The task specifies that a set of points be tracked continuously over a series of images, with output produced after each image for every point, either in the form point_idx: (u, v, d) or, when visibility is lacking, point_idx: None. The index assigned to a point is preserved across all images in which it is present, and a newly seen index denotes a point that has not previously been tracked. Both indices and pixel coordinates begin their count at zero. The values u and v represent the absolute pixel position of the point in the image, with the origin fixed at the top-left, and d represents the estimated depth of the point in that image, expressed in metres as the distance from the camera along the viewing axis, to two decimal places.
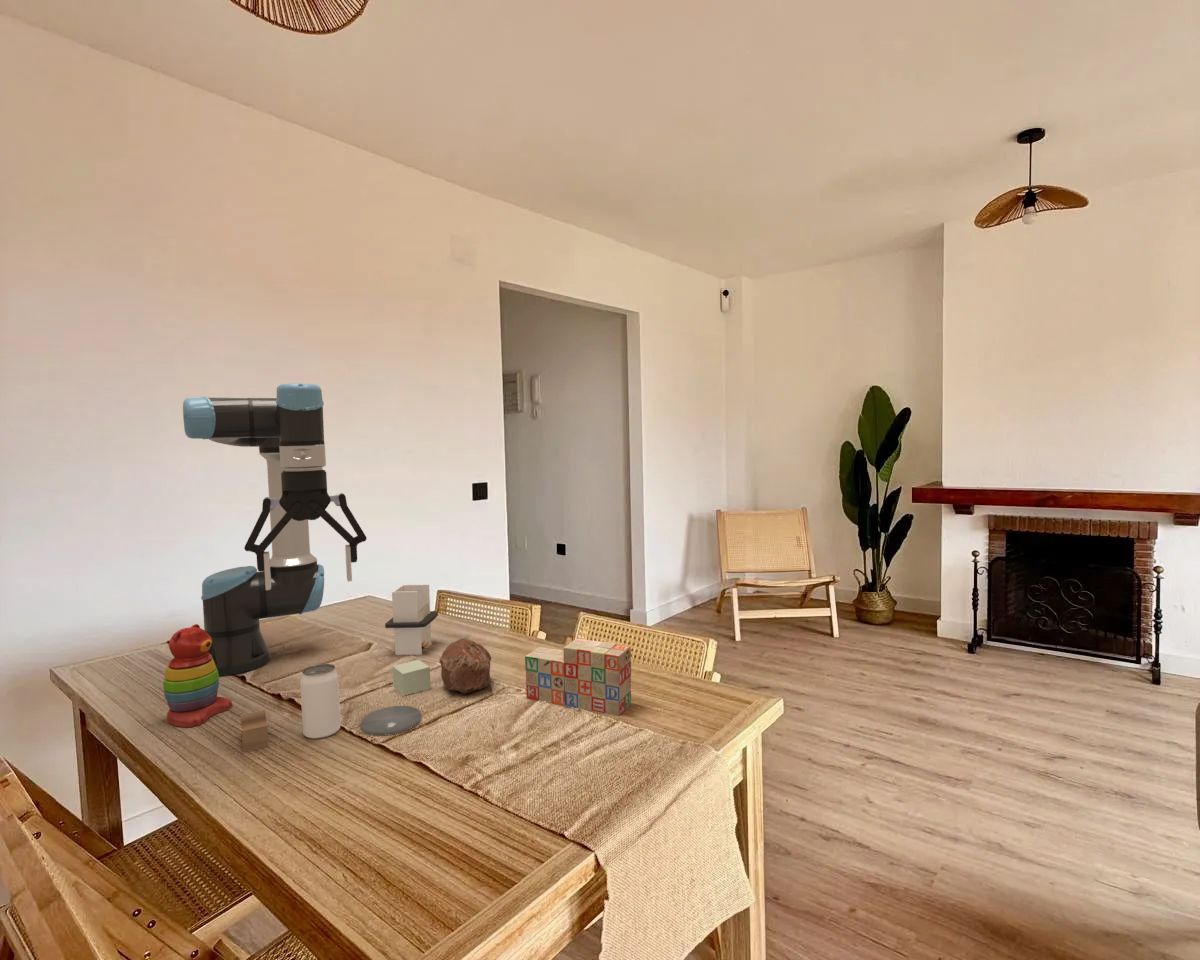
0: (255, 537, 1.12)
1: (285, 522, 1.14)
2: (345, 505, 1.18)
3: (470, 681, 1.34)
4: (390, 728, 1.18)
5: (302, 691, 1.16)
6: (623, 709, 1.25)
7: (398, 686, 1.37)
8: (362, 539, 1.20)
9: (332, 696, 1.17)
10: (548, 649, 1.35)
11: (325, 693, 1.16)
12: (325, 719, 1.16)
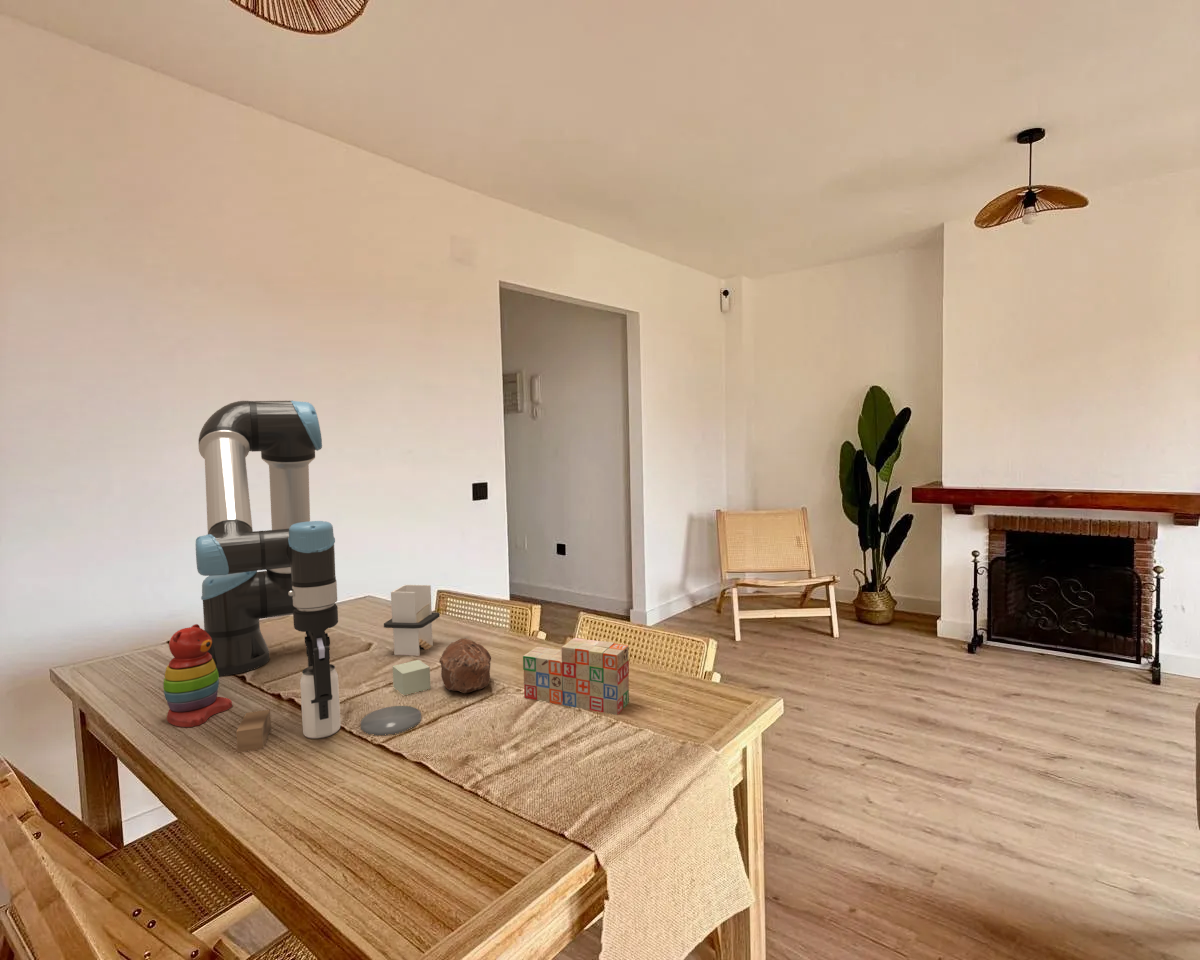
0: (308, 666, 1.23)
1: None
2: (314, 660, 1.12)
3: (470, 681, 1.34)
4: (390, 728, 1.18)
5: (302, 691, 1.16)
6: (621, 708, 1.26)
7: (398, 686, 1.37)
8: None
9: (332, 696, 1.17)
10: (546, 649, 1.36)
11: None
12: None
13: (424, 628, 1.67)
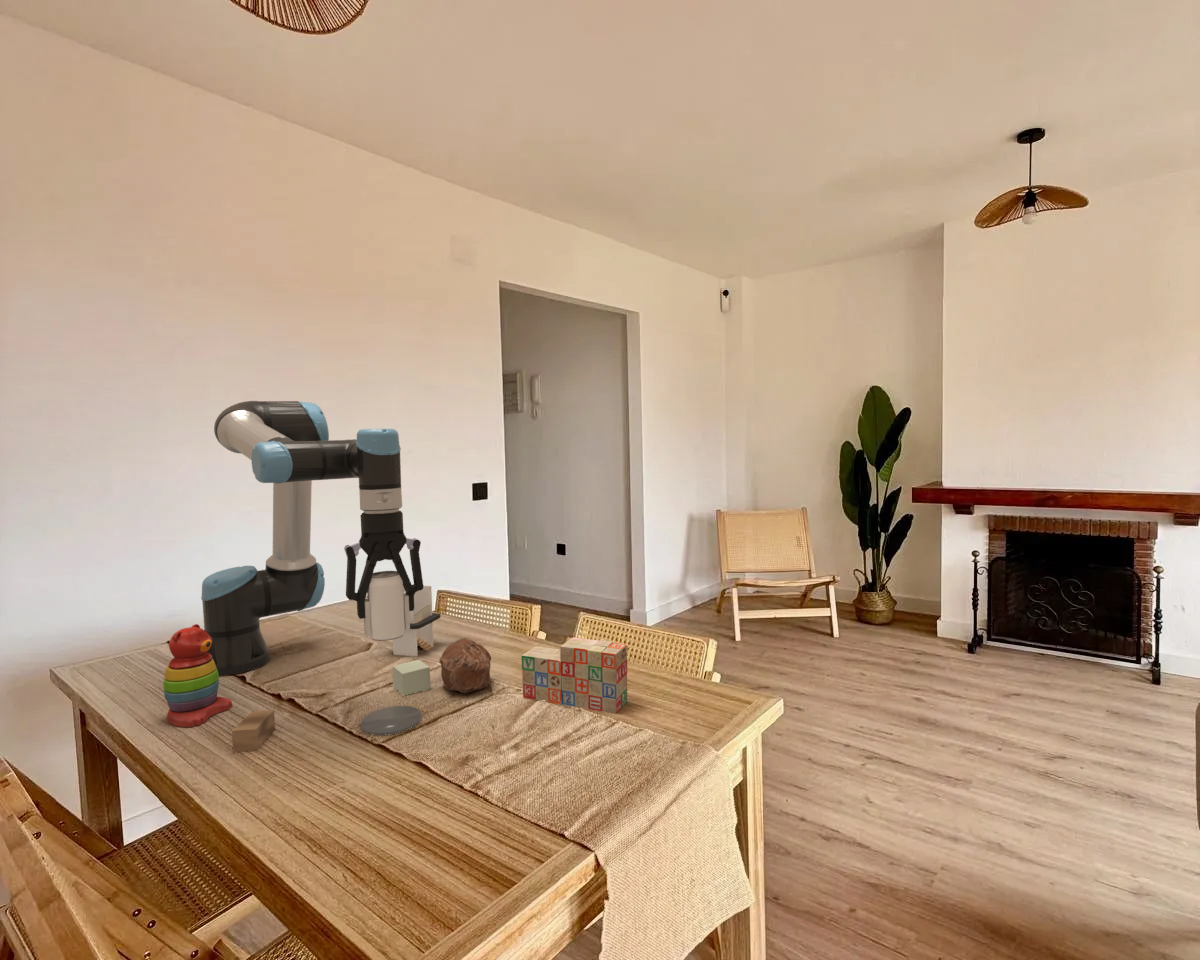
0: (353, 585, 1.17)
1: (373, 565, 1.18)
2: (417, 551, 1.22)
3: (470, 681, 1.34)
4: (390, 728, 1.18)
5: (394, 592, 1.19)
6: (620, 707, 1.26)
7: (398, 686, 1.37)
8: (419, 588, 1.23)
9: None
10: (544, 648, 1.36)
11: None
12: None
13: (425, 629, 1.66)
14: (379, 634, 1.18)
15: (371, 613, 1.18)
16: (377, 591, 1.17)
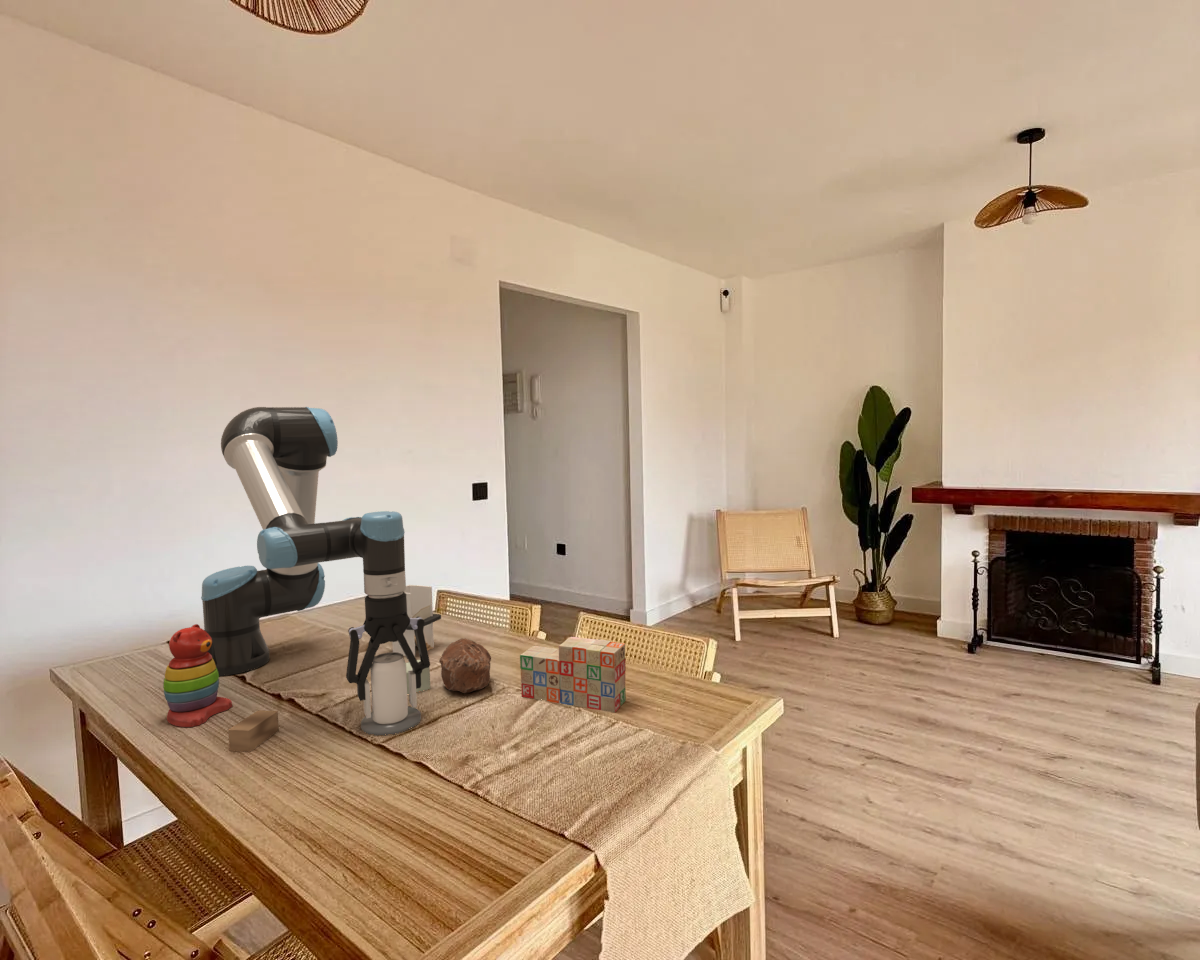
0: (354, 668, 1.18)
1: (376, 648, 1.19)
2: (421, 630, 1.23)
3: (470, 681, 1.34)
4: (390, 728, 1.18)
5: (398, 677, 1.20)
6: (618, 706, 1.27)
7: None
8: (426, 665, 1.24)
9: None
10: (542, 648, 1.36)
11: None
12: None
13: (426, 629, 1.65)
14: (383, 719, 1.19)
15: (375, 697, 1.20)
16: (380, 676, 1.19)
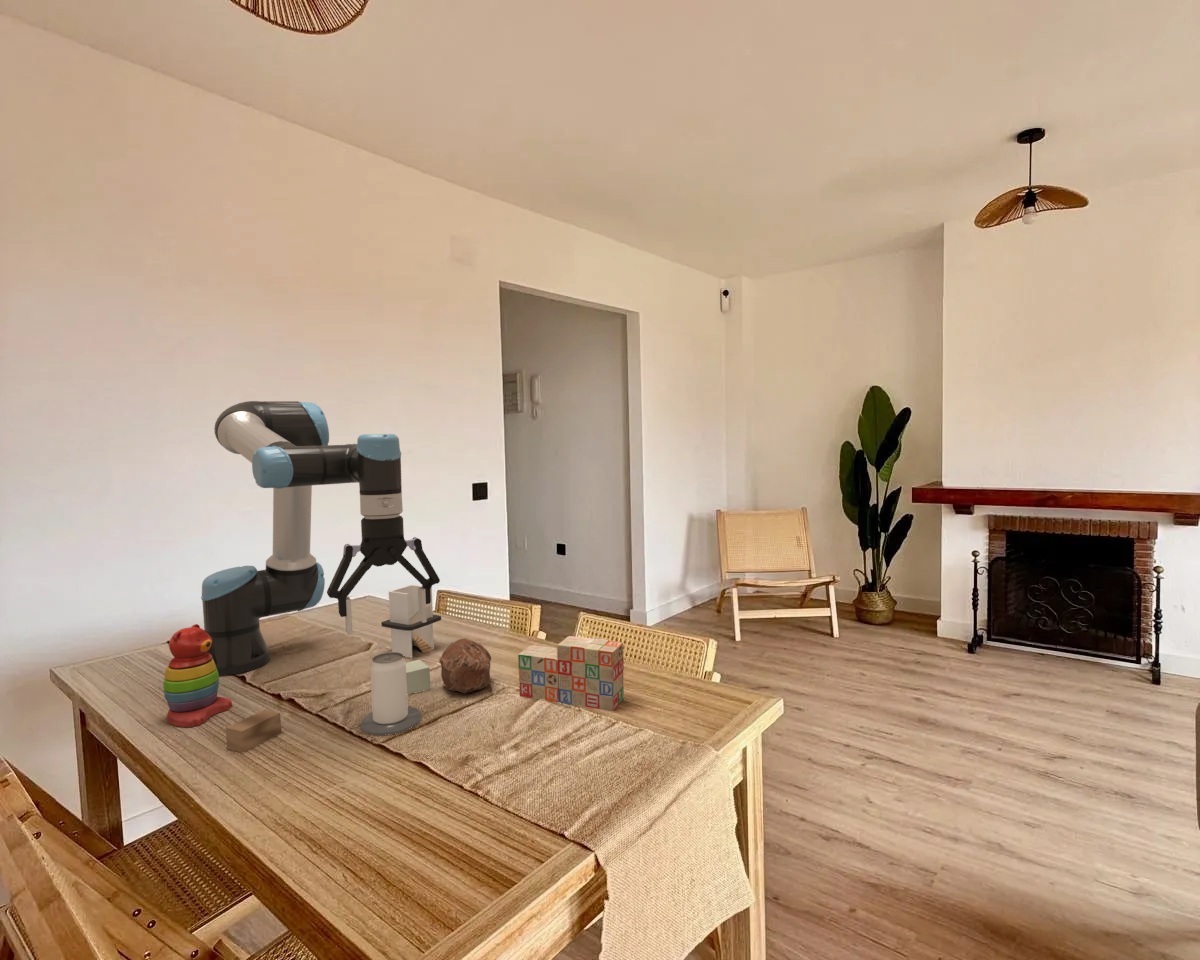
0: (338, 584, 1.15)
1: (366, 568, 1.17)
2: (421, 549, 1.23)
3: (470, 681, 1.34)
4: (390, 728, 1.18)
5: (397, 677, 1.20)
6: (616, 704, 1.28)
7: None
8: (436, 581, 1.24)
9: None
10: (540, 647, 1.37)
11: None
12: None
13: (426, 630, 1.65)
14: (382, 719, 1.19)
15: (374, 697, 1.20)
16: (380, 676, 1.19)
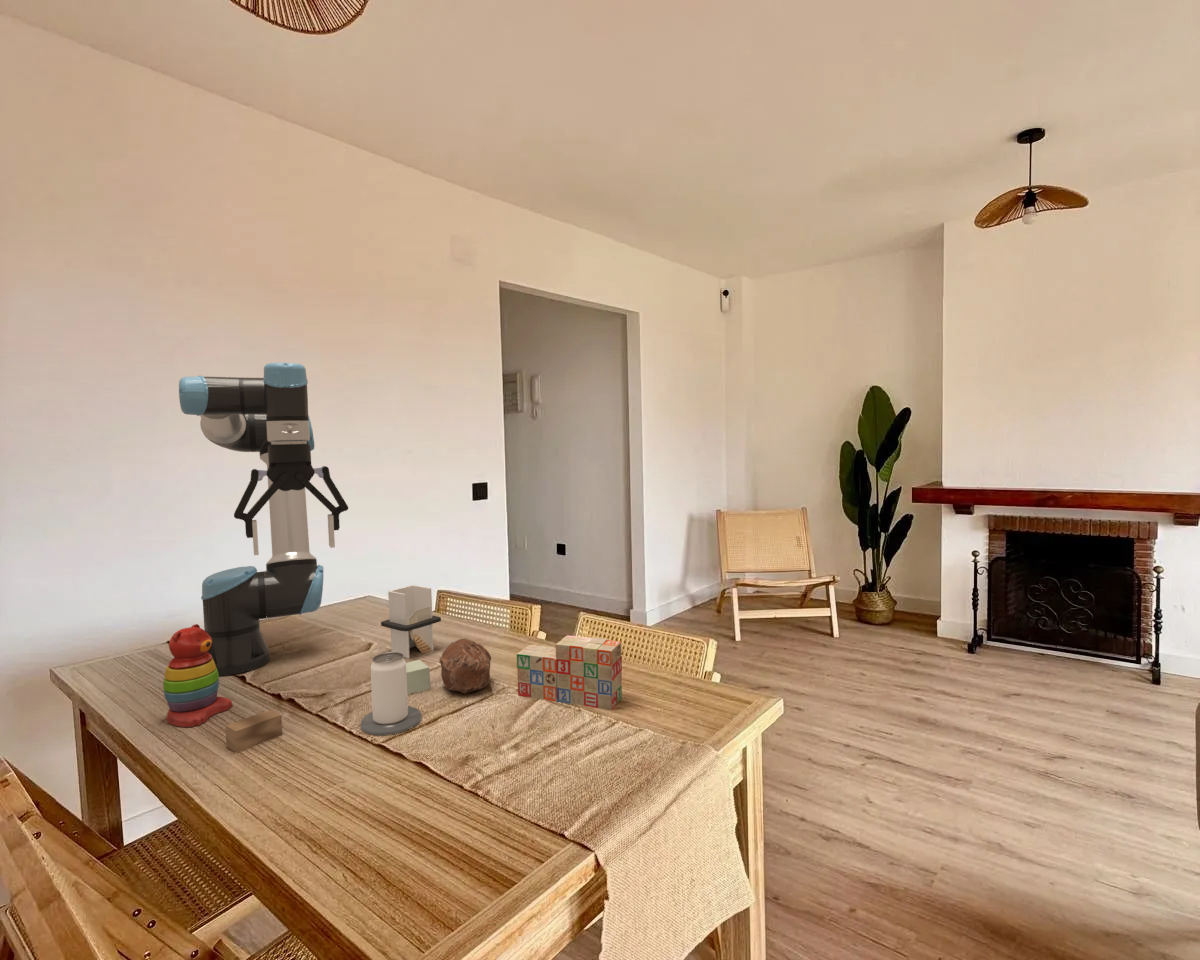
0: (244, 505, 1.20)
1: (272, 492, 1.22)
2: (328, 477, 1.28)
3: (470, 681, 1.34)
4: (390, 728, 1.18)
5: (398, 677, 1.20)
6: (615, 703, 1.28)
7: None
8: (344, 508, 1.29)
9: None
10: (538, 646, 1.37)
11: None
12: None
13: (426, 631, 1.64)
14: (382, 718, 1.19)
15: (375, 697, 1.20)
16: (380, 676, 1.19)
